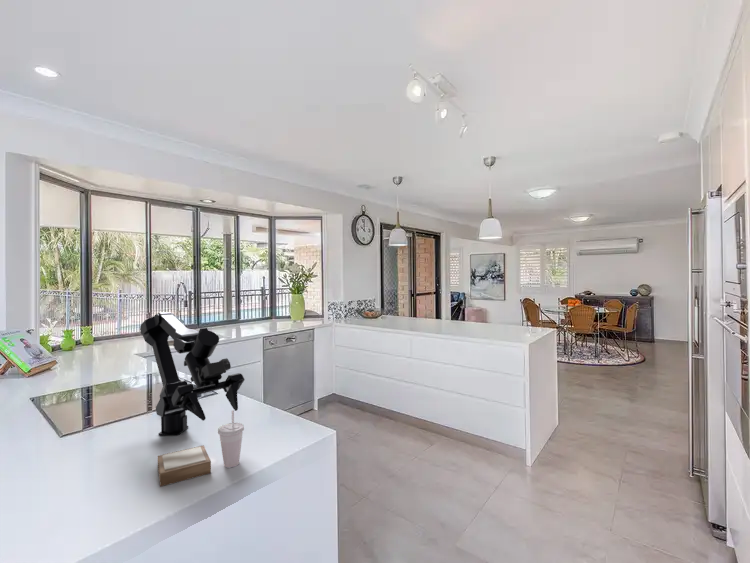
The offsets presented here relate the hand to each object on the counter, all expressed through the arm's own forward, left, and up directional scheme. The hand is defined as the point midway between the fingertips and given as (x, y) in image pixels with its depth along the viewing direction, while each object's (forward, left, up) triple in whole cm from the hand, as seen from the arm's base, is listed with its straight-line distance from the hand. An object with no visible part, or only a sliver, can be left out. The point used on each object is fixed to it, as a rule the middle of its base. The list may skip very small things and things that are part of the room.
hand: (221, 414), depth 103 cm
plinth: (-7, -6, -12) cm, 15 cm away
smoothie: (+4, -3, -12) cm, 13 cm away
